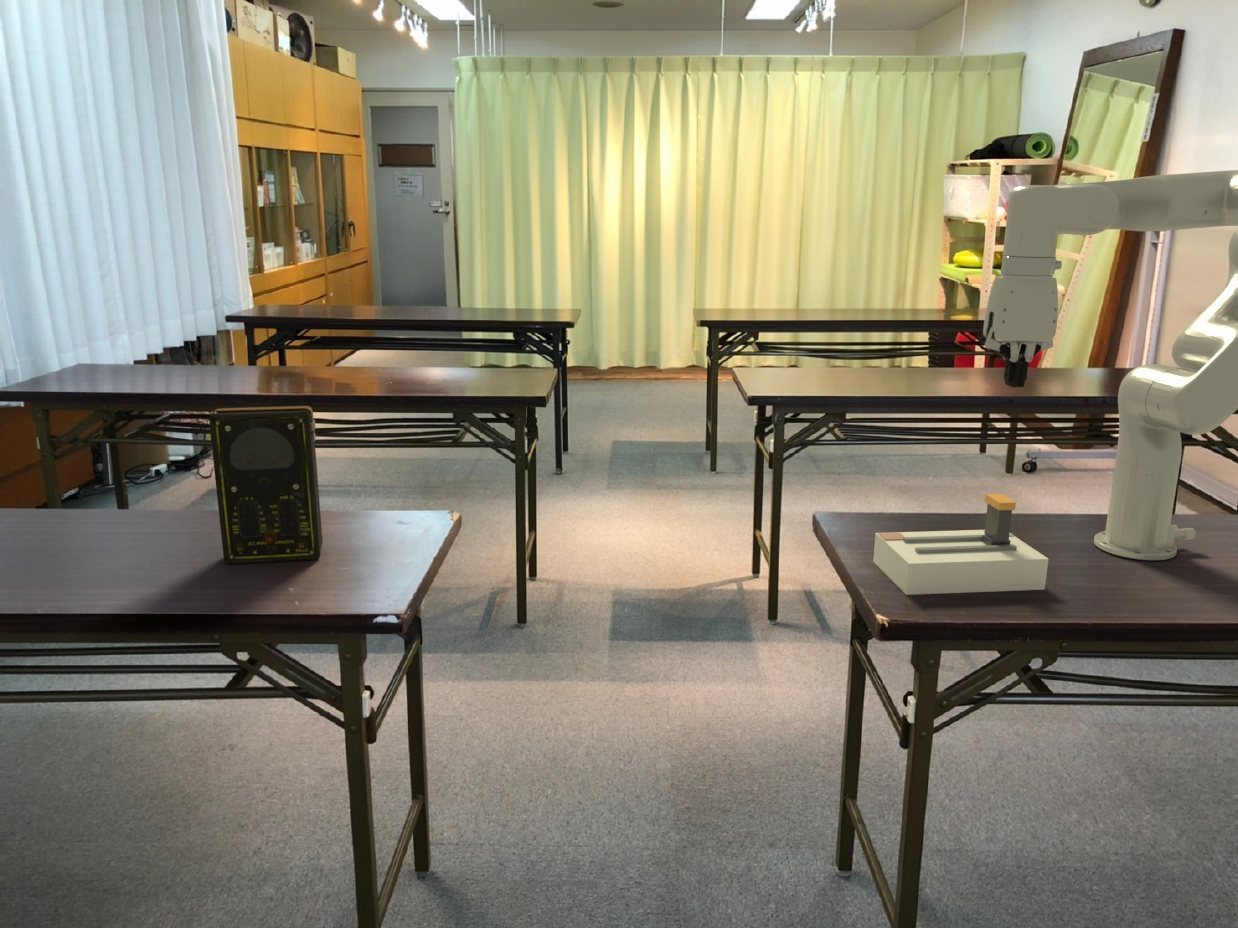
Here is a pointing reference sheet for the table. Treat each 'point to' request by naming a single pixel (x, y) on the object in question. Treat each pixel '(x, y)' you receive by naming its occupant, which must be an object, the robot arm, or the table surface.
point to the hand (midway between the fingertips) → (1014, 385)
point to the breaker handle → (998, 519)
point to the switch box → (958, 562)
